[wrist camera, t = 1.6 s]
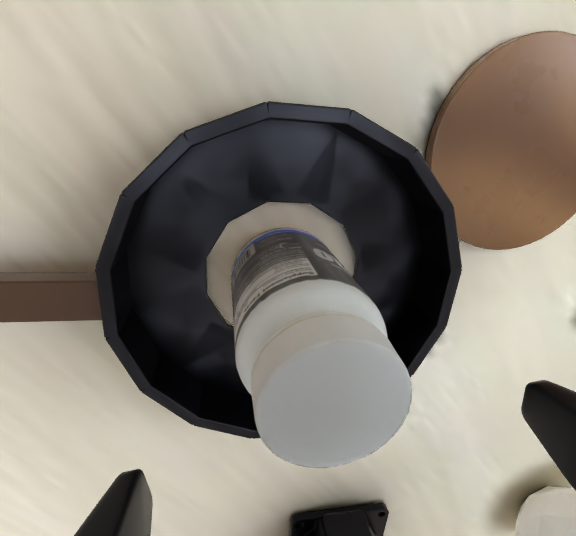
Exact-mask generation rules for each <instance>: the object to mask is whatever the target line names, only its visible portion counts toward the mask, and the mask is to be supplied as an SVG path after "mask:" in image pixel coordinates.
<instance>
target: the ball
mask: <svg viewBox="0 0 576 536" xmlns="http://www.w3.org/2000/svg"><path fill="white" fill-rule="evenodd" d="M515 530H516V536H576V491H575V489H574V488H565V487H550V486H547V487H545V488H543V489H541V490H539V491H537V492H535V493H533V494H531V495H529V496H528V498H527V499H526V500H525V502H524V503H523V504H522V506H521V508H520V511H519V514H518V517H517V520H516V523H515Z"/></svg>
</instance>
